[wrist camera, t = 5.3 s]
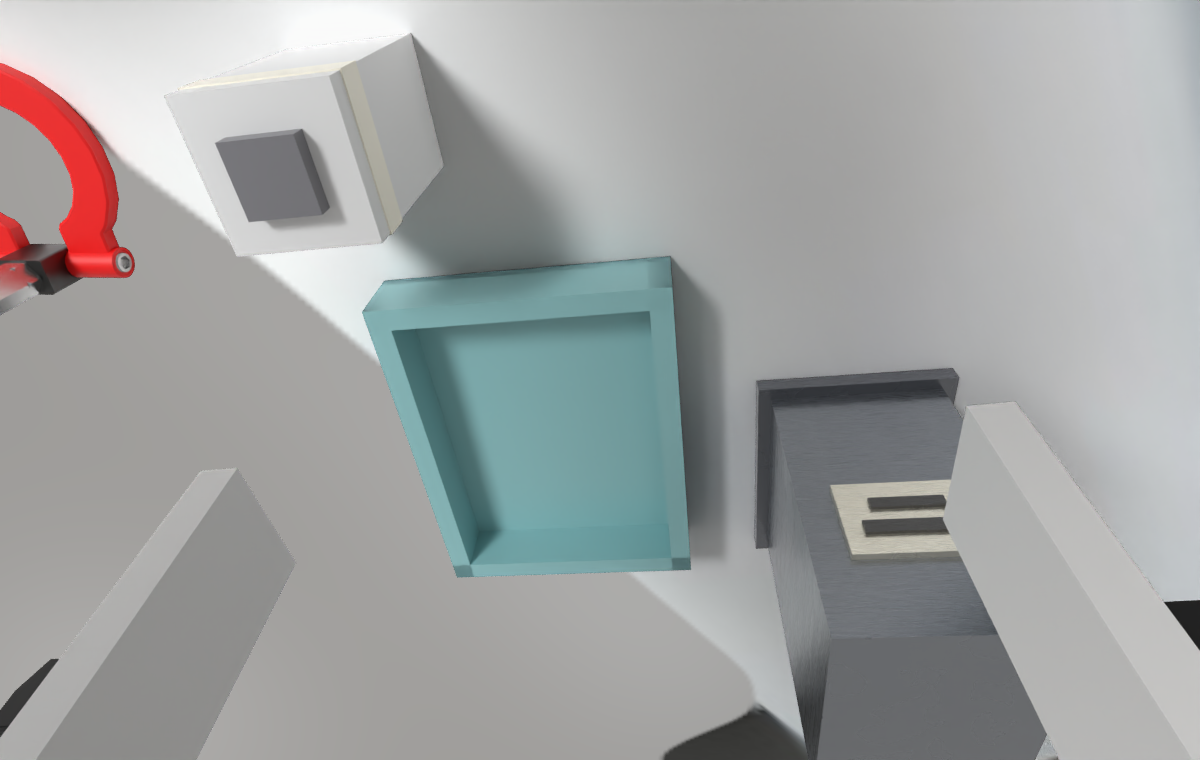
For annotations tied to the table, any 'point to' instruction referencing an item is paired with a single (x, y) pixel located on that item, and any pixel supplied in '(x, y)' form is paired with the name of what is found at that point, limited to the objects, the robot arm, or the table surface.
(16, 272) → the tow hook
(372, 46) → the white tall square block
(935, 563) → the controller unit
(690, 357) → the table surface
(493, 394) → the parts tray
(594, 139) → the table surface
